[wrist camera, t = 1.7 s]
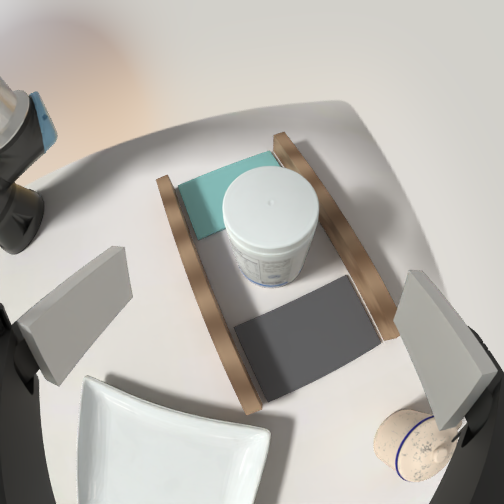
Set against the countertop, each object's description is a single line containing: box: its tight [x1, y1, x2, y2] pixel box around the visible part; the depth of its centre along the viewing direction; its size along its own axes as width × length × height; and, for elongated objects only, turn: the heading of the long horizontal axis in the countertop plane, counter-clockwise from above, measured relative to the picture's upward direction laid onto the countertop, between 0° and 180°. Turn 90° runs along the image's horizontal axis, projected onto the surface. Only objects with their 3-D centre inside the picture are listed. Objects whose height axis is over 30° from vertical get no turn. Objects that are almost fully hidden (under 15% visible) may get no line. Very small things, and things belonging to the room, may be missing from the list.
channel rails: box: [156, 132, 400, 415], centre depth 37 cm, size 36×22×4 cm, turn 24°
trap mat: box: [234, 275, 381, 402], centre depth 34 cm, size 11×17×1 cm, turn 114°
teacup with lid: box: [374, 409, 462, 482], centre depth 23 cm, size 12×9×12 cm
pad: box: [178, 151, 280, 240], centre depth 44 cm, size 11×17×1 cm, turn 114°
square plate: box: [76, 375, 271, 504], centre depth 26 cm, size 27×27×4 cm
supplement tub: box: [222, 166, 319, 288], centre depth 32 cm, size 10×10×15 cm
